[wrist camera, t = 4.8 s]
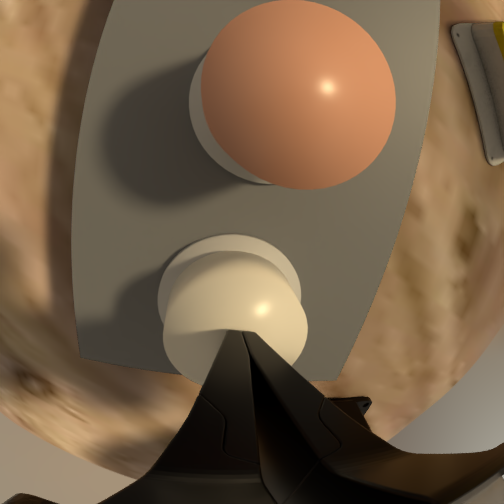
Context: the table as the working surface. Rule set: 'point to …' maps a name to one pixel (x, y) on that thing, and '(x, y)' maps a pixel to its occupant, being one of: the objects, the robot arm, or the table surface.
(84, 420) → the table surface
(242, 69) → the terracotta button
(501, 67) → the emergency button
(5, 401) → the table surface
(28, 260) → the table surface
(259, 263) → the cream button
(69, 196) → the table surface
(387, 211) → the console
